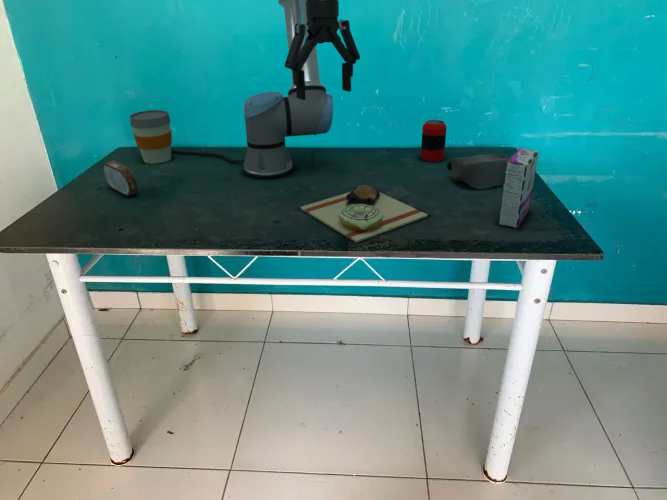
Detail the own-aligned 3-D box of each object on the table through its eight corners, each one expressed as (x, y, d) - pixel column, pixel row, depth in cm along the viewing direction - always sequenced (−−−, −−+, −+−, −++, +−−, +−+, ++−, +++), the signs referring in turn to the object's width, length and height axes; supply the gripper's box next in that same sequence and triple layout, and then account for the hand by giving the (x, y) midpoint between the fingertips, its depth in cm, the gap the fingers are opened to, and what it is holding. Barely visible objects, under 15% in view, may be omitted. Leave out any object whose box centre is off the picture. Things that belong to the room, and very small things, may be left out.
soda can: (445, 162, 168) (449, 125, 162) (422, 162, 168) (424, 125, 163) (441, 154, 175) (444, 118, 169) (419, 154, 175) (421, 119, 169)
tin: (141, 196, 147) (135, 168, 143) (130, 200, 145) (124, 171, 141) (115, 183, 157) (109, 156, 152) (105, 186, 155) (98, 159, 150)
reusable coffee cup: (148, 152, 182) (139, 109, 175) (182, 153, 180) (175, 110, 173) (131, 164, 171) (121, 119, 164) (167, 166, 170) (159, 120, 162)
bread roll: (353, 190, 147) (353, 178, 145) (382, 194, 145) (383, 181, 143) (342, 205, 138) (342, 192, 136) (373, 209, 136) (373, 196, 134)
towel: (300, 208, 138) (300, 206, 138) (367, 188, 150) (367, 186, 150) (356, 242, 121) (356, 240, 121) (427, 216, 133) (427, 214, 132)
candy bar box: (509, 208, 136) (519, 147, 128) (529, 212, 134) (540, 150, 126) (496, 224, 128) (506, 160, 120) (517, 229, 126) (528, 164, 118)
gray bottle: (500, 171, 160) (503, 146, 156) (520, 184, 150) (524, 158, 147) (444, 177, 156) (446, 152, 152) (461, 191, 147) (464, 165, 143)
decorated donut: (367, 237, 122) (368, 223, 120) (330, 226, 127) (330, 212, 125) (390, 221, 129) (390, 207, 127) (353, 211, 135) (353, 198, 133)
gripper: (283, 2, 108) (289, 105, 119) (375, -4, 121) (373, 89, 131) (265, 0, 114) (272, 99, 124) (355, -5, 126) (355, 85, 137)
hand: (324, 94), depth 128 cm, fingers open, 13 cm apart
